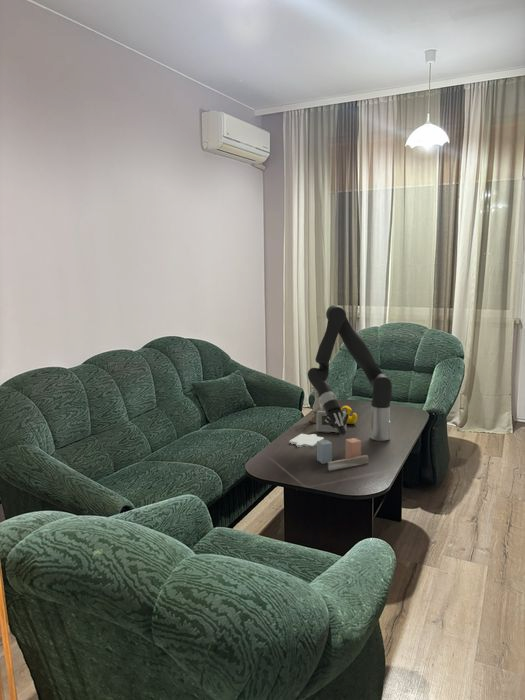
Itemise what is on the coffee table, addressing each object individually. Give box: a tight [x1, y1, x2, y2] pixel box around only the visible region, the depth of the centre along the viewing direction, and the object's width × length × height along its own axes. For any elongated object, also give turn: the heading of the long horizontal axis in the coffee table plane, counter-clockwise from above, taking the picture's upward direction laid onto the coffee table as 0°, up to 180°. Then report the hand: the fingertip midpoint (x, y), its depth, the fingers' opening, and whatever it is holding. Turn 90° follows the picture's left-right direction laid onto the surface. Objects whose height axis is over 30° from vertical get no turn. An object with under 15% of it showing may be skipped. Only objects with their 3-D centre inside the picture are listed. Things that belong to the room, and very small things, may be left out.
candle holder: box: [309, 384, 323, 424], centre depth 304 cm, size 9×9×20 cm
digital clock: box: [315, 410, 347, 434], centre depth 287 cm, size 16×9×11 cm, turn 71°
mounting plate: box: [288, 433, 325, 448], centre depth 272 cm, size 18×13×2 cm
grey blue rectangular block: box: [316, 439, 333, 465], centre depth 244 cm, size 5×5×9 cm
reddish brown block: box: [344, 437, 362, 459], centre depth 246 cm, size 5×5×9 cm
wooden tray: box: [327, 454, 369, 472], centre depth 244 cm, size 14×20×4 cm
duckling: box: [341, 405, 358, 425], centre depth 300 cm, size 11×5×10 cm, turn 61°
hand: (343, 434), depth 253 cm, fingers closed
